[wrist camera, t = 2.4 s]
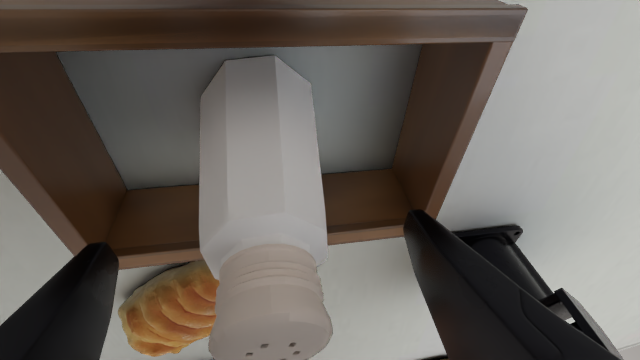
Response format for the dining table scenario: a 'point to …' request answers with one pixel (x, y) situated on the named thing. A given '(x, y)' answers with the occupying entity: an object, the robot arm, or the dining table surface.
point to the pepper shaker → (262, 212)
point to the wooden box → (236, 32)
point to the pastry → (171, 310)
